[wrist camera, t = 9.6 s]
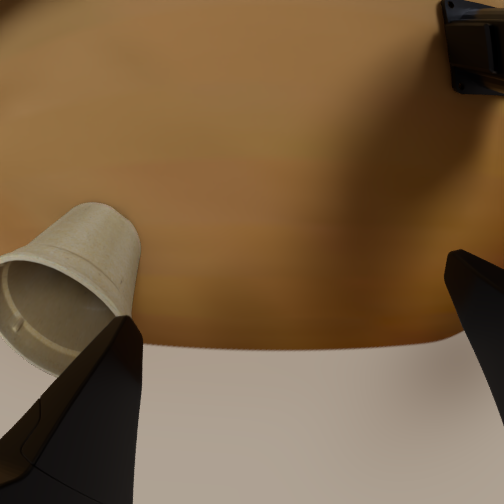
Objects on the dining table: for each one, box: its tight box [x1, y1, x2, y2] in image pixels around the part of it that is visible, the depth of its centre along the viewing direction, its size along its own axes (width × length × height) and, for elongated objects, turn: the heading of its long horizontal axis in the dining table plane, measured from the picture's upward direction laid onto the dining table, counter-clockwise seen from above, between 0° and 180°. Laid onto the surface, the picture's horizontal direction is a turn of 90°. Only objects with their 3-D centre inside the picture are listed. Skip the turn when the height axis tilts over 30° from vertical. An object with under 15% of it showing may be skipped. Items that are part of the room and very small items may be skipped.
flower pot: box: [0, 202, 141, 378], centre depth 17 cm, size 9×9×9 cm
